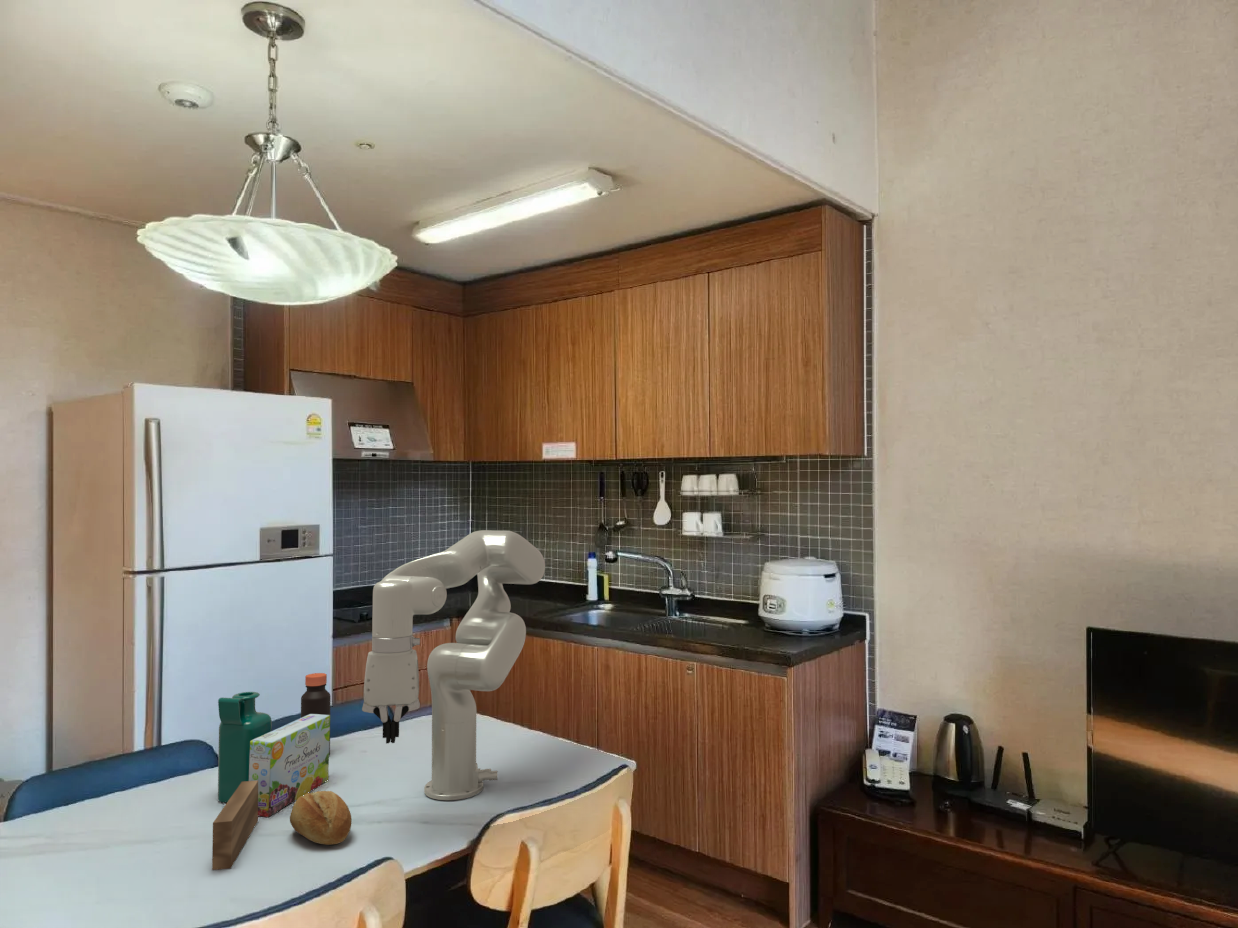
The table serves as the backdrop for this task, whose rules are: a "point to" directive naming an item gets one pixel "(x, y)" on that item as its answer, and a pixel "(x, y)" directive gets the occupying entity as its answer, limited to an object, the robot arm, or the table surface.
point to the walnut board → (234, 825)
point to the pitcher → (237, 740)
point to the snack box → (290, 762)
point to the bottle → (316, 696)
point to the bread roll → (321, 817)
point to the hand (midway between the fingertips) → (390, 740)
